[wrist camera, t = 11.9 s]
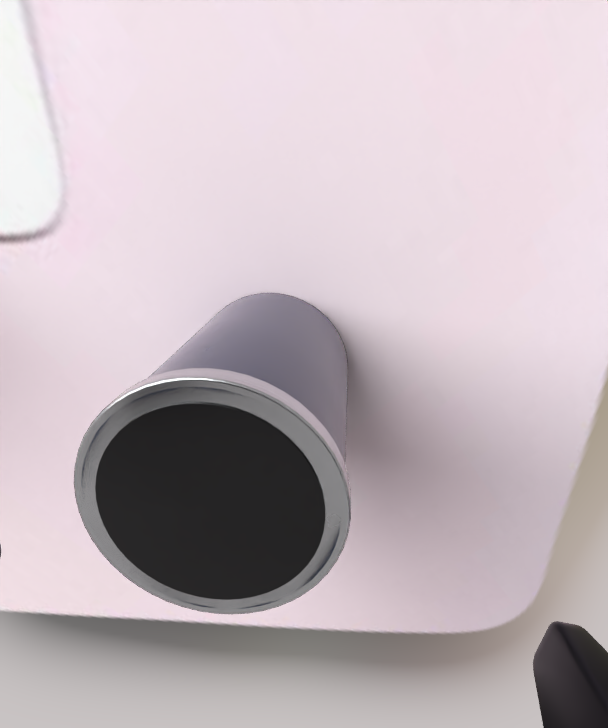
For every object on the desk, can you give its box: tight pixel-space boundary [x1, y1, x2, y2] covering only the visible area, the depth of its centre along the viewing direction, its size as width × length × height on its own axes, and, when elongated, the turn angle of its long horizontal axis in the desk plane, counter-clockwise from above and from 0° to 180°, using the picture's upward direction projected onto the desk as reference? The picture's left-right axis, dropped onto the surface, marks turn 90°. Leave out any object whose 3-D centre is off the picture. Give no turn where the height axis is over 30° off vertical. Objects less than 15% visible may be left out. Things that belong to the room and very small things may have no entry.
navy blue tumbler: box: [74, 293, 351, 614], centre depth 15 cm, size 6×6×9 cm
